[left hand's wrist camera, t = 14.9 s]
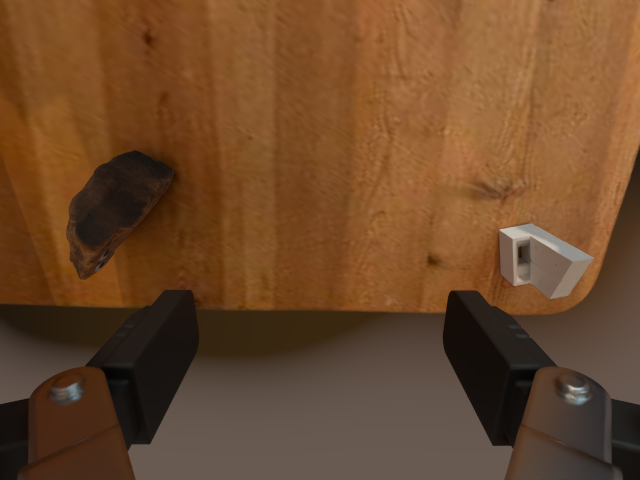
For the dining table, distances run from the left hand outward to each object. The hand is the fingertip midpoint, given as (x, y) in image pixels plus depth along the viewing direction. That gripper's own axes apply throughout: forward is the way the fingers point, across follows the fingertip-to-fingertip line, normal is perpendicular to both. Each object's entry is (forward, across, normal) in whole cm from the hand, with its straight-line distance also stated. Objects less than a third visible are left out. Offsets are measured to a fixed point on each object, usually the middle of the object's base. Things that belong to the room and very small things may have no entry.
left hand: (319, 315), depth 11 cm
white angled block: (+30, -23, +10) cm, 39 cm away
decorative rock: (+30, +20, +4) cm, 36 cm away
